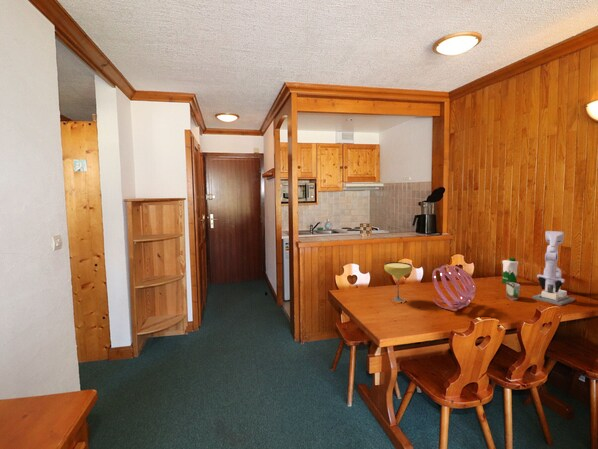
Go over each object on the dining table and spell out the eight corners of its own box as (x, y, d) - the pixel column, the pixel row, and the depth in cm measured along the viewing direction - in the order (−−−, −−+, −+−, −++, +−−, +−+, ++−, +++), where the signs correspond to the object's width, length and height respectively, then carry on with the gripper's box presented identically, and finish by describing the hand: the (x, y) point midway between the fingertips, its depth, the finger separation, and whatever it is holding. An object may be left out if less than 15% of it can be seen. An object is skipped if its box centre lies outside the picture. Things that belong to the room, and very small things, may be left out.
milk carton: (518, 284, 243) (520, 259, 241) (509, 285, 241) (510, 259, 239) (508, 281, 251) (509, 257, 249) (499, 282, 249) (500, 257, 247)
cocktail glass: (417, 301, 209) (418, 265, 207) (399, 307, 200) (399, 269, 198) (396, 294, 225) (396, 260, 222) (378, 299, 215) (378, 264, 213)
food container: (524, 301, 204) (524, 286, 204) (513, 301, 206) (514, 286, 205) (515, 295, 217) (515, 281, 216) (505, 295, 218) (505, 281, 217)
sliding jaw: (544, 295, 210) (545, 283, 209) (558, 298, 202) (559, 286, 202) (541, 296, 208) (541, 284, 207) (555, 299, 201) (556, 287, 200)
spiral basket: (411, 274, 205) (448, 255, 188) (433, 277, 222) (468, 260, 205) (429, 316, 191) (471, 300, 174) (451, 315, 208) (491, 300, 191)
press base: (546, 294, 218) (546, 286, 218) (574, 300, 204) (575, 292, 204) (532, 298, 210) (532, 290, 210) (560, 305, 196) (561, 297, 196)
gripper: (535, 269, 208) (534, 288, 209) (561, 273, 195) (559, 294, 196) (540, 267, 211) (539, 287, 212) (566, 272, 198) (565, 292, 199)
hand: (549, 290), depth 204 cm, fingers open, 7 cm apart
